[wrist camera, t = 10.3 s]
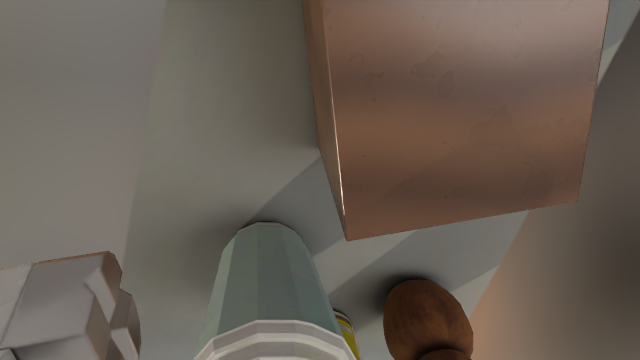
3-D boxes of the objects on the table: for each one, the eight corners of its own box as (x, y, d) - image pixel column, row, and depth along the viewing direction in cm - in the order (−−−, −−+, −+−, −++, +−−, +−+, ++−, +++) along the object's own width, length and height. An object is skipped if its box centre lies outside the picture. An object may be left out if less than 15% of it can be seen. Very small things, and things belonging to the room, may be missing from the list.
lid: (309, -98, 25) (326, -79, 21) (622, -141, 26) (696, -130, 22) (343, 233, 35) (360, 290, 31) (571, 194, 36) (616, 244, 32)
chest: (288, -106, 34) (311, -75, 26) (523, -138, 35) (619, -118, 26) (319, 149, 43) (343, 233, 35) (504, 119, 44) (571, 193, 36)
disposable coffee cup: (300, 311, 51) (326, 477, 39) (175, 287, 48) (160, 460, 35) (348, 214, 46) (396, 367, 34) (213, 180, 43) (212, 336, 31)
